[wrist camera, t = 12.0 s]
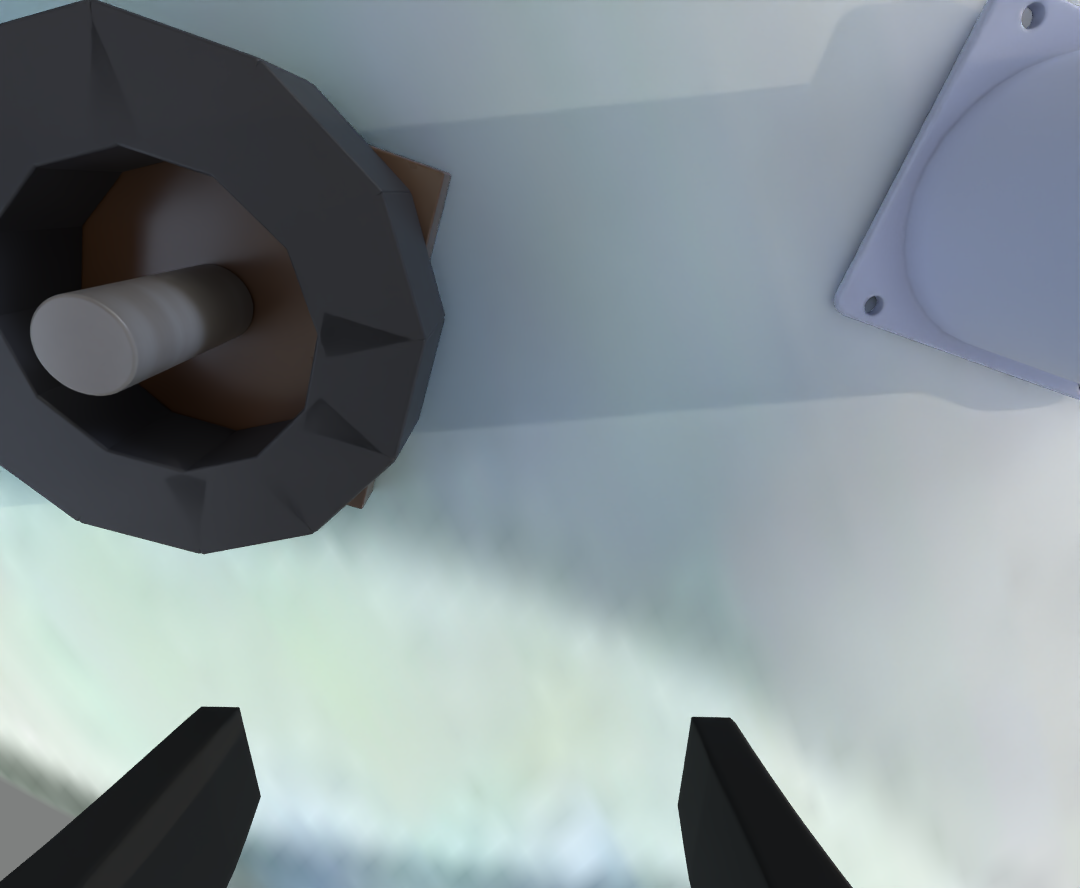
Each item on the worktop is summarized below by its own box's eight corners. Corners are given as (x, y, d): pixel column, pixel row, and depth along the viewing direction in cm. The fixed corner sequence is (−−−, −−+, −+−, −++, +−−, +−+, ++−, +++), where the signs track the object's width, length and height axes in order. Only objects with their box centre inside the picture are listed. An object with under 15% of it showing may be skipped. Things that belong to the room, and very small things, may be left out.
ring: (489, 145, 14) (477, 135, 12) (387, 542, 19) (362, 597, 16) (-25, -38, 13) (-166, -94, 10) (-6, 434, 17) (-101, 476, 15)
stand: (452, 174, 16) (398, 163, 10) (372, 492, 19) (300, 616, 14) (59, 32, 15) (-255, -70, 9) (54, 399, 18) (-169, 493, 13)
